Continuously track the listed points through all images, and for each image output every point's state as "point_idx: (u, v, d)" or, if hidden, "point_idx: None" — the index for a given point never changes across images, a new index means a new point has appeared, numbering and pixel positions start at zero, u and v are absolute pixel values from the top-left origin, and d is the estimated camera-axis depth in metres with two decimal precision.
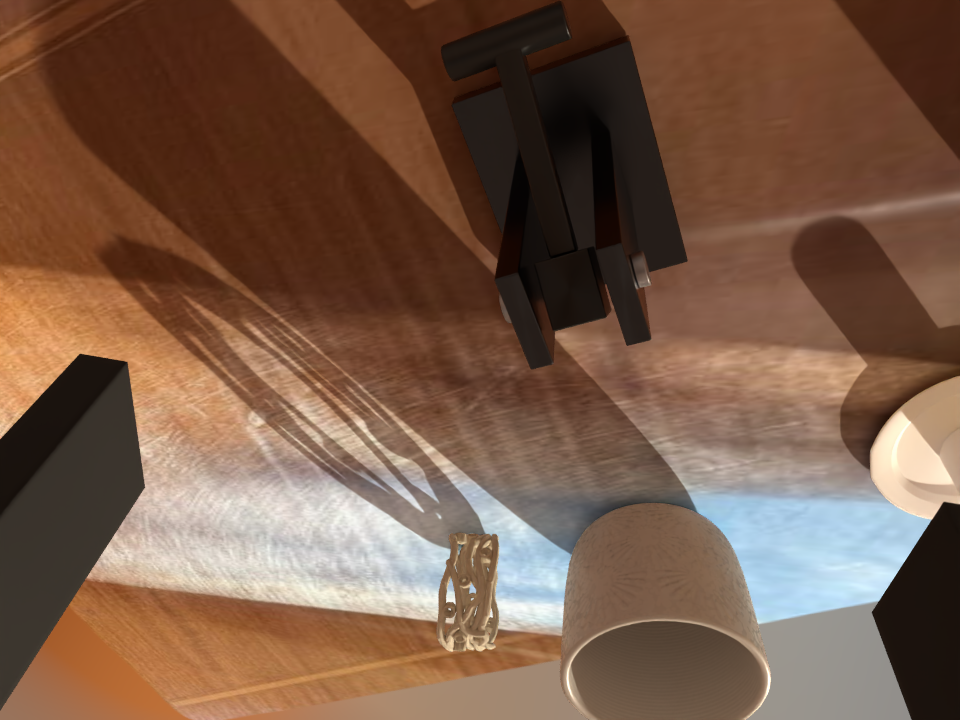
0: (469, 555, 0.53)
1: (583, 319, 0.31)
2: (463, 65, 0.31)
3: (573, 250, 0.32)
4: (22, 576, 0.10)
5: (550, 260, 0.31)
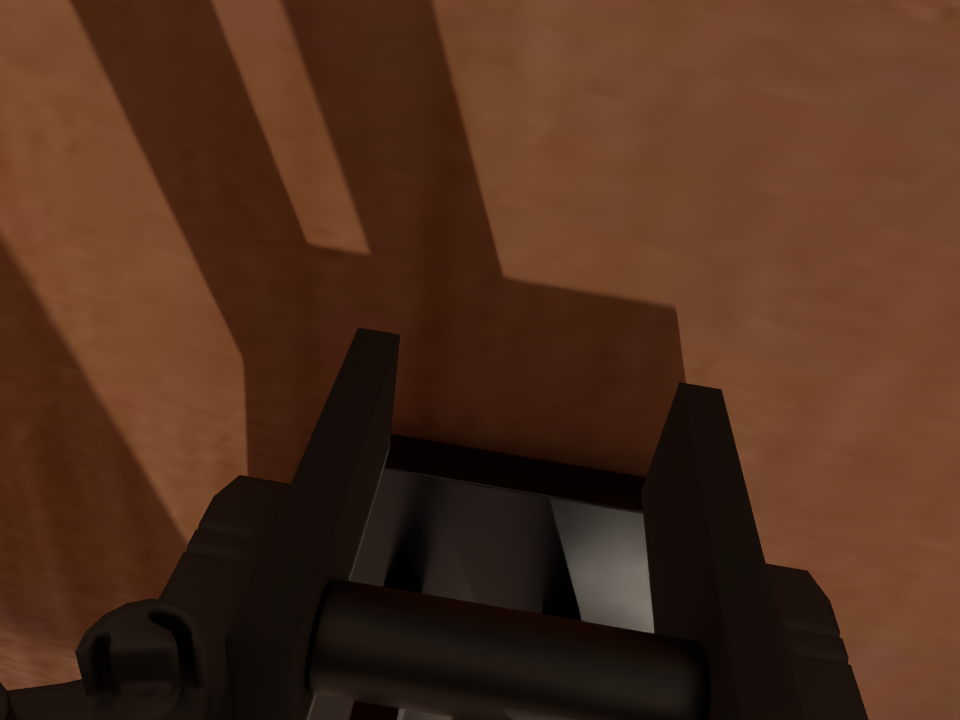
0: None
1: None
2: (360, 696, 0.10)
3: None
4: (354, 515, 0.12)
5: None
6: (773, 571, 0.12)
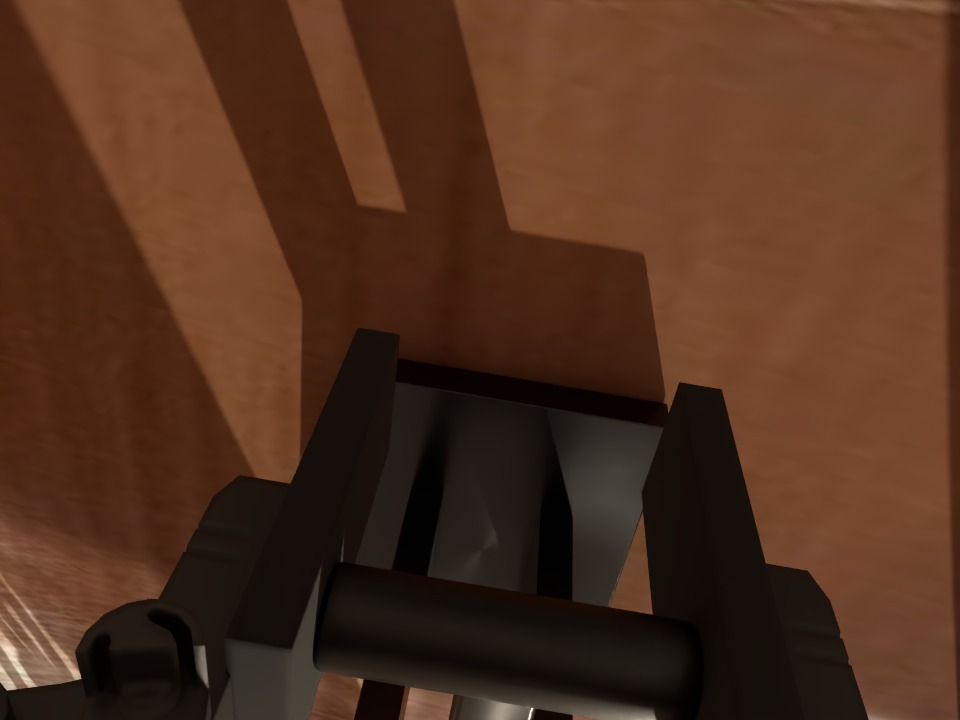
0: None
1: None
2: (368, 679, 0.11)
3: None
4: (354, 515, 0.12)
5: None
6: (773, 571, 0.12)
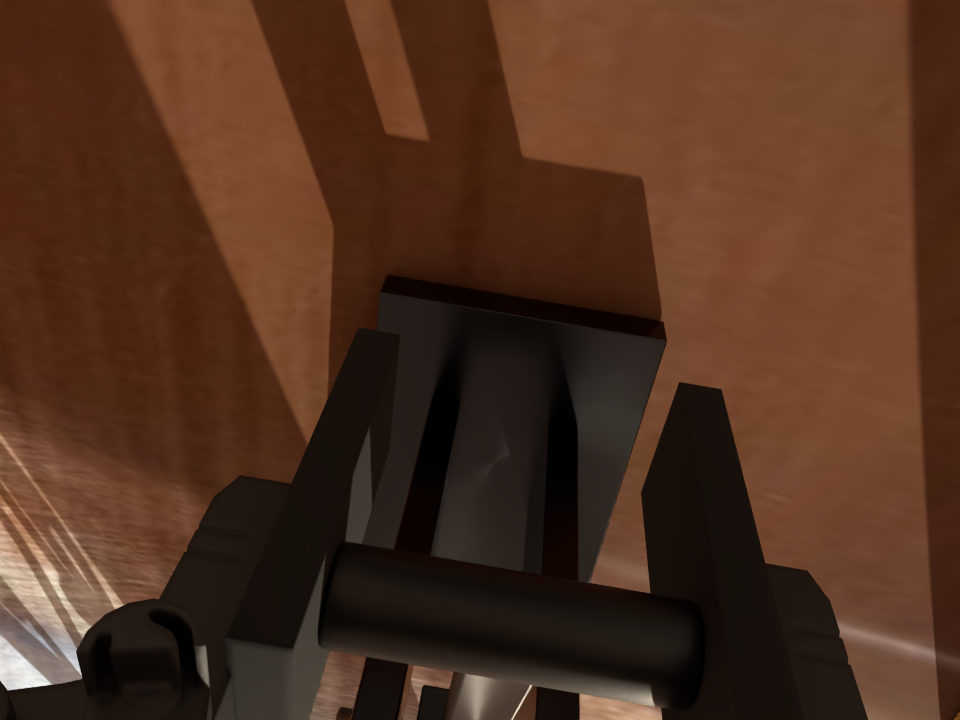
0: None
1: None
2: None
3: None
4: (355, 515, 0.12)
5: None
6: (773, 571, 0.12)
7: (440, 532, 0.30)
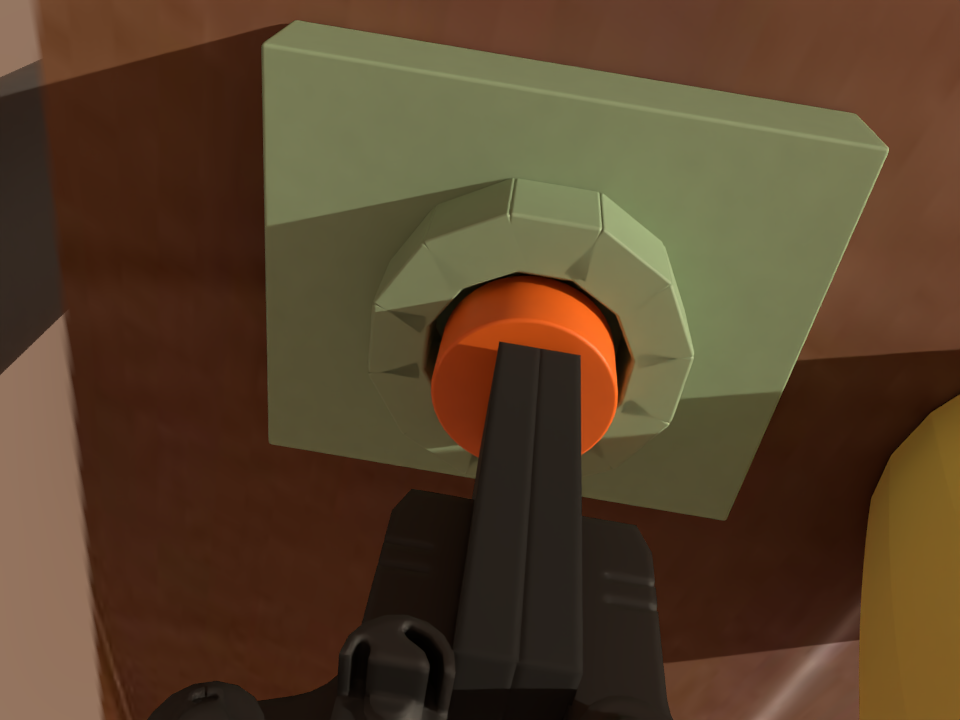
0: None
1: None
2: None
3: None
4: None
5: None
6: (601, 525, 0.12)
7: None
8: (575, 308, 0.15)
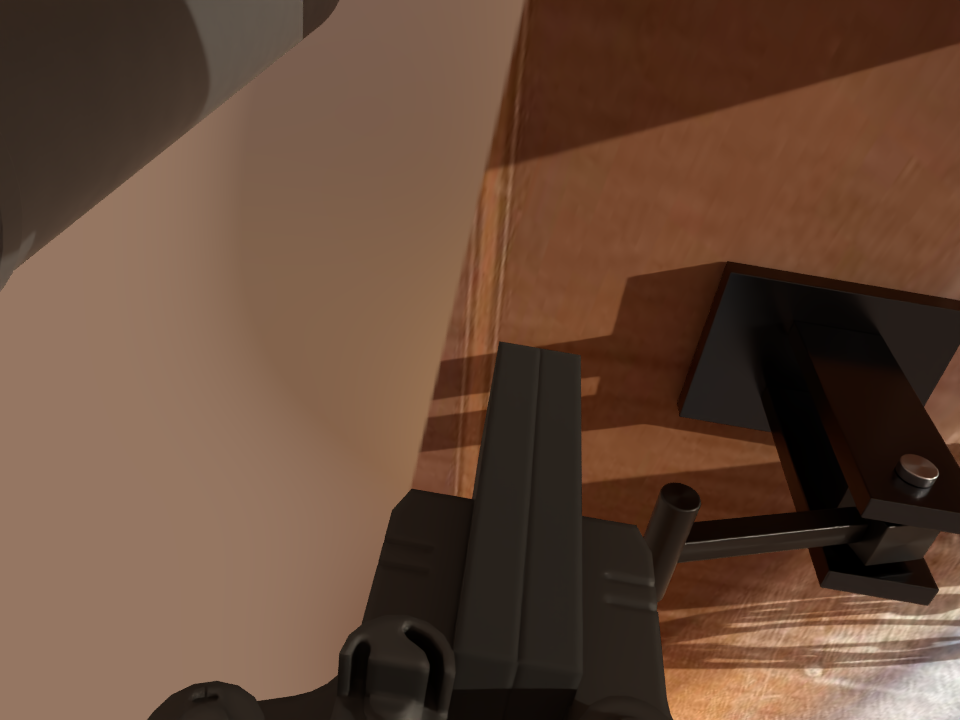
0: None
1: (934, 537, 0.31)
2: (666, 588, 0.30)
3: (867, 525, 0.31)
4: None
5: (873, 555, 0.31)
6: (601, 526, 0.12)
7: None
8: None
